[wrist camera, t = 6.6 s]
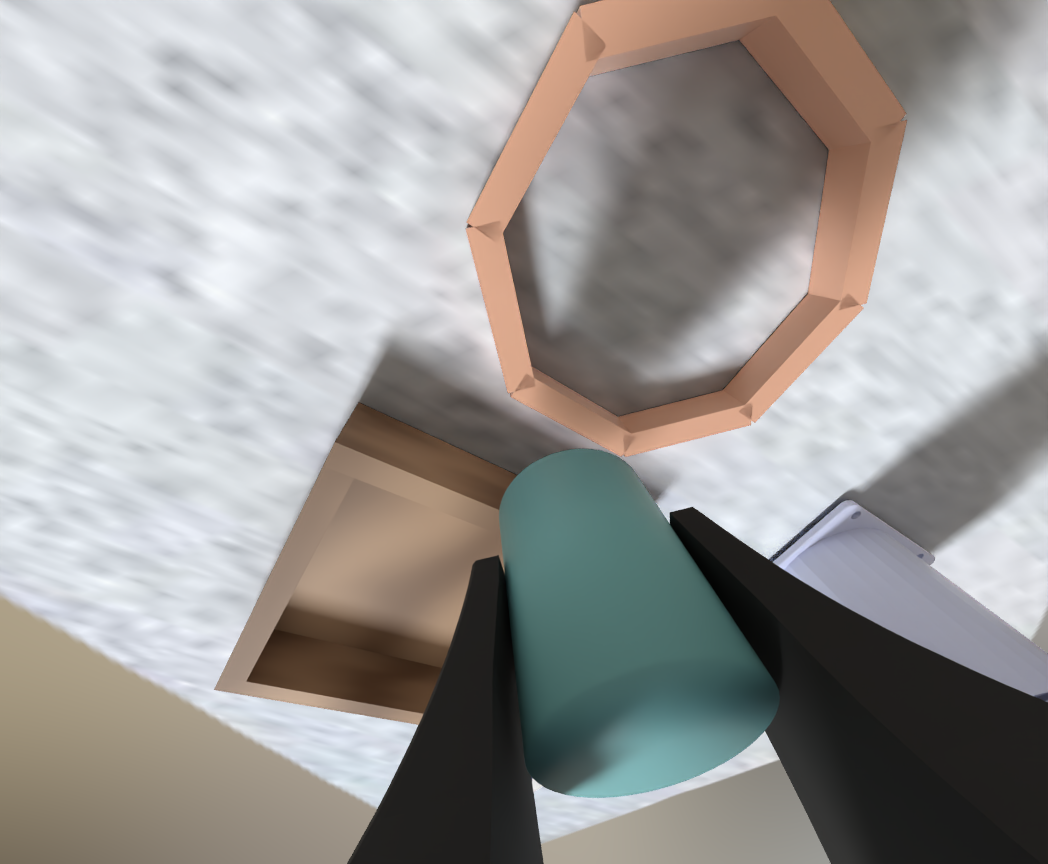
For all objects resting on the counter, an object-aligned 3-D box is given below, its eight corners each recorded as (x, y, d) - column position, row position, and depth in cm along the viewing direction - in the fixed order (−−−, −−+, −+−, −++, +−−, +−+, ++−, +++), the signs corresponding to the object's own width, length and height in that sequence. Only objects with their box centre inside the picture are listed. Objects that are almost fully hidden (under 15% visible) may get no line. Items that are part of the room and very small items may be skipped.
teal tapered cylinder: (638, 432, 11) (797, 628, 6) (648, 577, 14) (757, 793, 9) (482, 470, 11) (496, 704, 6) (525, 608, 14) (561, 844, 9)
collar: (918, 202, 14) (965, 201, 12) (672, 473, 18) (688, 492, 17) (655, -149, 9) (687, -210, 8) (411, 328, 14) (406, 340, 12)
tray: (632, 528, 20) (658, 575, 17) (490, 681, 24) (493, 737, 22) (358, 402, 15) (334, 442, 12) (248, 626, 19) (213, 689, 17)
